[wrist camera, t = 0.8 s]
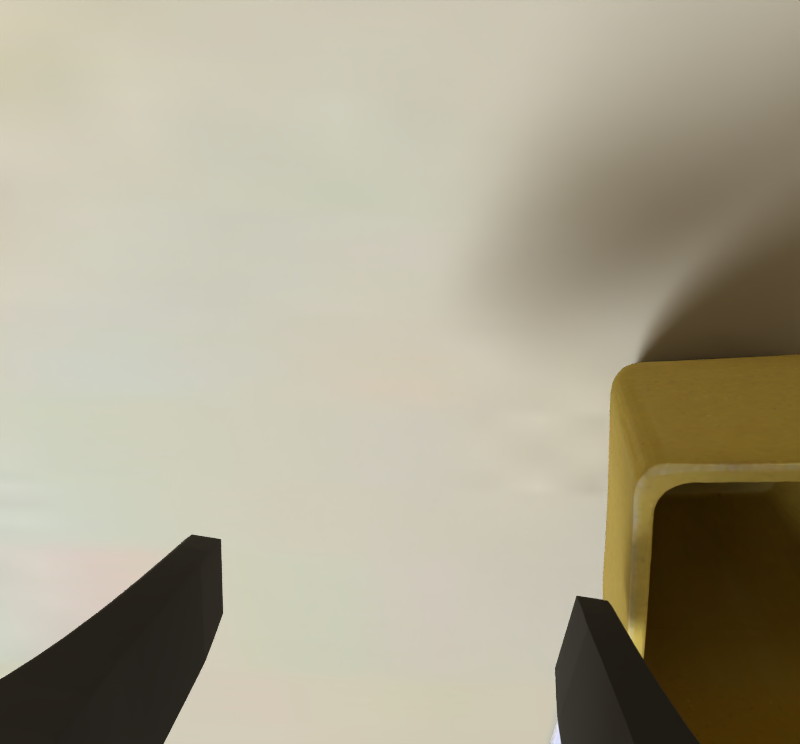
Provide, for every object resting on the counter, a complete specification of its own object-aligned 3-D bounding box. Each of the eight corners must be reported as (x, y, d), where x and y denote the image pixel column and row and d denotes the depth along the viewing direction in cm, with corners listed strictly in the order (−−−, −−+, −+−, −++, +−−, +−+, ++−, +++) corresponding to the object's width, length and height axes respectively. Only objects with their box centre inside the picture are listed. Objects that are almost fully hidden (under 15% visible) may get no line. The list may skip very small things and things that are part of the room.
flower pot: (880, 291, 19) (1182, 458, 11) (828, 529, 22) (1024, 788, 14) (573, 309, 20) (636, 469, 12) (571, 531, 24) (618, 770, 16)
